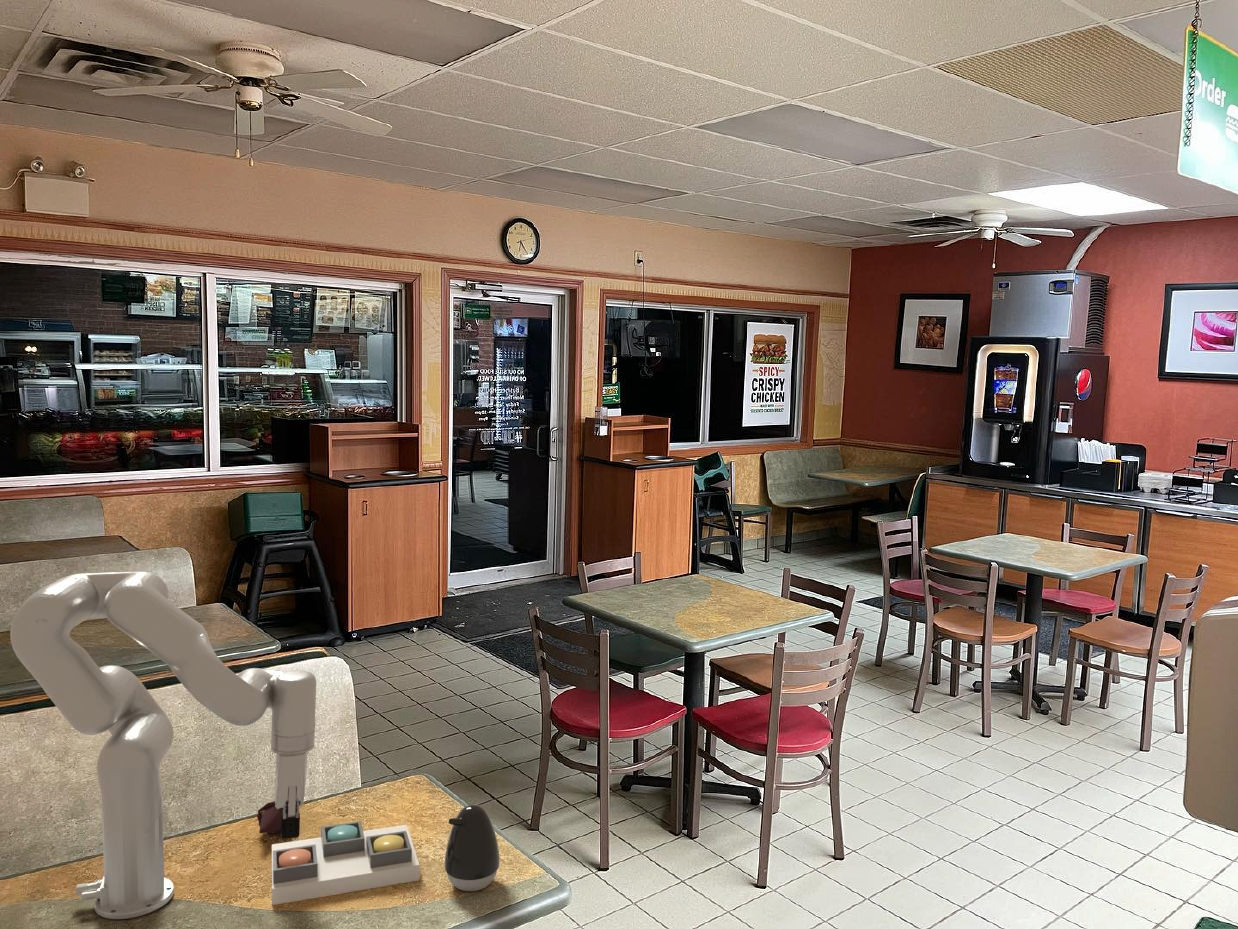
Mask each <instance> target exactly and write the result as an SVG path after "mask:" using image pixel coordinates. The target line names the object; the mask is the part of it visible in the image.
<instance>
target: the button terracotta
mask: <svg viewBox="0 0 1238 929" xmlns="http://www.w3.org/2000/svg"><path fill="white" fill-rule="evenodd" d="M309 863H311V853H310V852H309V851H308V850H305V849H294V850H289V851H287V852H285V853H283V854H281V855H280V857H279V868H284V867H290V866H296V865H303V864H309Z"/></svg>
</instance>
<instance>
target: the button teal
mask: <svg viewBox="0 0 1238 929" xmlns="http://www.w3.org/2000/svg"><path fill="white" fill-rule="evenodd" d="M355 838H357V828H356V827H354V826H351V825H341V826H337V827H334V828H332V829H330V830H329V831H328V842H335V841H341V840H348V839H355Z"/></svg>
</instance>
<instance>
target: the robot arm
mask: <svg viewBox="0 0 1238 929" xmlns="http://www.w3.org/2000/svg"><path fill="white" fill-rule="evenodd" d="M168 598H169V590H168V586H167V584H166V583H165V581H164V580H163V579H162V578H161V577H160V576H158V574H157V575H156V574H155V573H151V572H149V571H148V572H147V571H122V572H121V571H120V572H119V571H118V572H98V573H97V572H95V573H94V572H93V573H88V572H87V573H76V574H70V575H67V576H64V577H61V578H59V579H57V580H55V581H54V582H52V583H50V584H47V585H45V586H44V587H42V588H40V589H38V590H37V591H36V592H34V593H32V594H31V595H30V596H29V597H28V598H27V599H25V600H24V602H23V603H22V604H21V605H20V606H19V608H18V610H17V611H16V613H15V614H14V617H13V619H12V622H11V626H10V632H9V633H10V634H9V636H10V639H9V640H10V644H11V647H12V649H13V652H14V655H16V657H17V659H18V660H19V662H20V663H21V664H22V665H23V666H24V667H25V669H26V670H27V671H28V672H29V673H30V675H32V677H33V678H34V679H35V680H36V681H37V683H38V684H39V686H40V687H41V688H42V689H43V691H44V693H45V694H46V695H47V696H48V697H49V699H50V700H51V702H53V704H54V706H56V708H57V709H58V711H60V713H61V714H62V716H63V717H64V718H65V719H66V721H67V723H69V725H70V726H71V727H72V728H74V730H75V731H76V732H78V733H80V734H83V735H86V736H95V735H96V736H97V735H99V734H103V733H104V732H106V731H108V732H109V733H110V735H111V736H110V737H109V738H108V739H107V740H106V741H105V743H104V745H103V747H102V749H101V750H100V752H99V755H98V758H97V763H96V773H97V774H96V775H97V780H98V785H99V791H100V800H101V817H102V818H101V819H102V820H101V821H102V822H101V823H102V845H103V846H102V849H103V850H102V851H103V854H102V855H103V877H102V878H101V879H97V881H96V882H84V883H79V884H76V888H75V895H76V897H80V896H81V897H80V899H81V902H83V901H90V900H92V899H95V900H94V911H95V912H96V914H97V915H98V916H100V917H102V918H105V919H109V920H125V919H133V918H139V917H142V916H144V915H147V914H150V913H152V912H155V911H157V910H158V909H160V908H162V907H164V906H165V905H166V904H168V903H169V901H171V899H172V898H173V896H174V893H175V885H174V883H173V882H172V880H170V879H168V878H167V877H165V861H164V860H165V856H164V855H165V854H164V811H163V810H164V809H163V808H164V807H163V805H164V804H163V793H162V792H163V790H162V783H161V779H160V765H161V763H162V760H163V759H164V757H165V756H166V754H167V753H168V751H169V749H171V746H172V745H173V744H172V743H173V740H174V734H175V733H174V727H173V725H172V722H171V720H170V719H169V717H168V715H167V714H166V712H165V711H164V710H163V709H162V707H161V706H160V704H159V703H158V702H157V701H156V700H155V699H154V697H153V696H152V694H151V693H150V692H149V691H148V689H147V687H145V685H144V684H143V682H142V681H141V680H140V679H139V678H138V677H137V676H136V675H135V674H134V673H133V672H131V670H128V669H127V668H125V667H123V666H119V665H103V666H100V667H99V666H98V665H97V663H96V662H95V661H94V659H92V657H91V655H90V653H89V652H88V651H87V650H86V649H85V648H84V647H82V645H81V644H79V643H78V642H76V641H75V640H73V638H72V637H71V636H70V635H71V631H72V630H73V629H74V628H75V627H77V626H79V625H81V623H83V622H84V621H85V620H94V619H96V620H97V619H107V620H108V621H109V622H110V624H112V625H114V626H115V627H116V628H118V629H119V630H120V631H121V632H123V633H124V634H126V635H127V636H129V638H131V639H132V640H134V641H136V643H138V644H139V645H141V646H142V647H143V648H145V649H147V651H149V652H151V654H153V655H154V656H155V657H156V658H158V659H159V660H160V661H162V662H163V663H164V664H166V665H167V666H168V667H169V668H170V670H171V671H172V673H173V674H174V676H175V678H177V680H178V681H179V682H180V684H182V686H183V687H184V689H186V691H187V692H188V693H189V694H190V695H191V696H192V697H193V699H195V700H196V701H197V702H198V703H200V705H202V706H203V707H205V708H206V709H207V710H209V711H211V713H213V714H214V715H216V717H219V718H220V719H221V720H223V721H225V722H226V723H229V724H231V725H234V726H238V727H239V726H240V727H242V726H243V727H245V726H249V725H252V724H255V723H256V722H258V721H259V720H260V719H261V718H262V717H263V716H264V714H265V713H266V711H267V709H271V732H270V733H271V739H270V751H271V752H272V753H274V754H276V756H275V757H276V758H275V775H274V776H275V777H274V780H275V781H274V801H275V807H276V808H277V809H279V808H283V814H282V815H281V835H280V838H281V840H287V839H296V838H299V836H300V824H301V823H300V822H301V814H300V807H302V806H303V805H304V803H305V794H306V786H307V785H306V784H307V772H308V771H307V765H308V752H310V751H312V750H313V749H314V748H315V738H316V736H315V734H316V705H317V704H316V703H317V702H316V701H317V679H316V676H315V674H313V673H312V672H311V671H307V670H300V669H298V670H297V669H296V670H287V671H286V670H285V671H281V670H280V671H279V670H272V669H267V668H260V667H259V668H258V667H252V668H251V667H250V668H246V669H244V670H242V671H241V672H239V673H238V674H237V673H235V672H234V671H232V670H231V669H230V668H229V667H228V666H227V665H226V664H224V662H223V661H222V660H221V659H220V658H219V657H218V655H217V654H216V652H215V650H214V648H213V646H212V643H211V641H210V638H209V634H208V631H207V630H206V628H205V627H204V626H203V624H201V623H200V622H199V621H197V620H196V619H194V618H193V617H192V616H190V615H189V614H187V613H186V612H185V611H183V610H182V609H181V608H180V607H179V606H177V605H176V604H174V603H173V602H172V601H171V600H169V599H168Z"/></svg>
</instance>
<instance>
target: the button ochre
mask: <svg viewBox="0 0 1238 929" xmlns="http://www.w3.org/2000/svg"><path fill="white" fill-rule="evenodd" d="M398 849H404V839H403V838H402V837H400V836H397V835H386V836H382V837H379V838H378V839H376V840H375V841H374V853H379V852H386V851H392V850H398Z"/></svg>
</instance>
